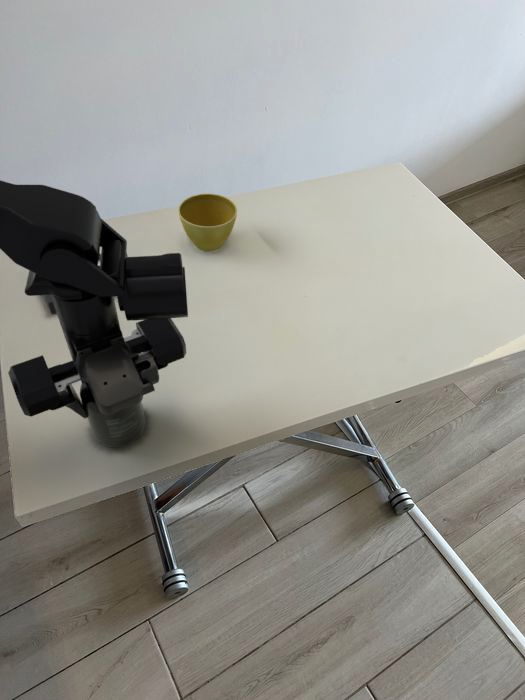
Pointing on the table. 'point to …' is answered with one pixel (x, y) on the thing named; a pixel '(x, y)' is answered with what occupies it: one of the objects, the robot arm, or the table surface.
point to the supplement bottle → (113, 421)
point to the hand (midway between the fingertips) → (112, 404)
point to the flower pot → (207, 220)
